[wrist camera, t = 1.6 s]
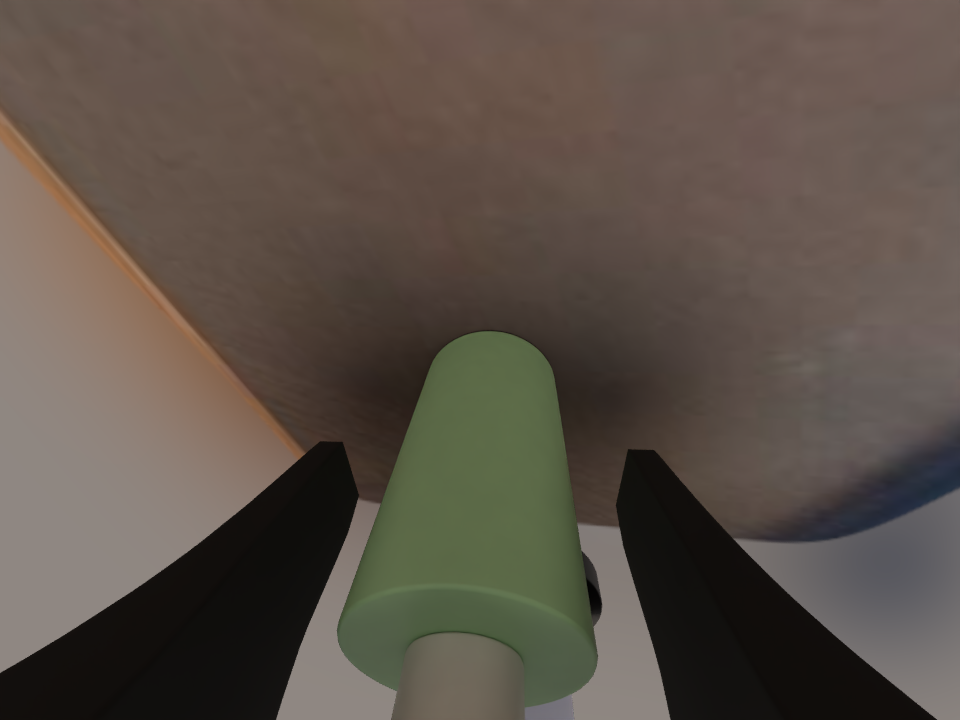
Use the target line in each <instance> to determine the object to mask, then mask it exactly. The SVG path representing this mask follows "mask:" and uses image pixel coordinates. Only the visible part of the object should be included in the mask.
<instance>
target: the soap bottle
mask: <svg viewBox="0 0 960 720" xmlns="http://www.w3.org/2000/svg"><path fill="white" fill-rule="evenodd" d="M337 636H338V642H339V645H340V648H341V650H342V651H343V653H344V655H345V656H346V657H347V658H348V660H349V661H350V662H351V663H352V664H353V665H354V666H355V667H356V668H358V669H359V670H360V671H361V672H363V673H364V674H366V675H367V676H369V677H370V678H372V679H374V680H375V681H377V682H379V683H380V684H382V685H385V686H387V687H389V688H391V689H393V690H395V691H397V695H396V699H395V704H394V709H393V714H392V718H391V720H525V708H526V707H532V706H538V705H542V704H546V703H550V702H553V701H556V700H559V699H562V698H564V697H566V696H569V695H571V694H572V693H574V692H576V691H577V690H579V689H581V688H582V687H583V686H584V685H585V684H586V683H588V682H589V680H590V679H591V678H592V676H593V675H594V672H595V669H596V666H597V659H598V654H597V648H596V641H595V635H594V628H593V622H592V616H591V609H590V603H589V596H588V590H587V584H586V577H585V571H584V564H583V558H582V551H581V545H580V539H579V532H578V526H577V519H576V513H575V507H574V500H573V494H572V487H571V481H570V475H569V468H568V462H567V455H566V449H565V443H564V436H563V430H562V423H561V417H560V410H559V404H558V398H557V391H556V385H555V379H554V374H553V371H552V368H551V366H550V364H549V362H548V361H547V359H546V358H545V357H544V355H543V354H542V353H541V352H540V351H539V350H538V349H537V348H536V347H534V346H533V345H532V344H530V343H529V342H527V341H525V340H524V339H521V338H519V337H517V336H514V335H511V334H508V333H503V332H495V331H483V332H475V333H471V334H467V335H464V336H462V337H459V338H457V339H455V340H453V341H452V342H450V343H449V344H447V345H446V346H445V347H444V348H443V349H442V350H441V351H440V352H439V353H438V354H437V355H436V357H435V359H434V360H433V362H432V364H431V367H430V369H429V372H428V375H427V378H426V380H425V383H424V386H423V389H422V391H421V394H420V397H419V400H418V403H417V405H416V408H415V411H414V414H413V416H412V419H411V422H410V425H409V428H408V430H407V433H406V436H405V439H404V441H403V444H402V447H401V450H400V453H399V455H398V458H397V461H396V464H395V466H394V469H393V472H392V475H391V478H390V480H389V483H388V486H387V489H386V491H385V494H384V497H383V500H382V503H381V505H380V508H379V511H378V514H377V517H376V519H375V522H374V525H373V528H372V530H371V533H370V536H369V539H368V542H367V544H366V547H365V550H364V553H363V555H362V558H361V561H360V564H359V567H358V570H357V572H356V575H355V578H354V580H353V583H352V586H351V589H350V592H349V594H348V597H347V600H346V603H345V606H344V608H343V611H342V614H341V617H340V619H339V624H338V628H337Z"/></svg>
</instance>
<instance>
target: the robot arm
mask: <svg viewBox="0 0 960 720" xmlns="http://www.w3.org/2000/svg"><path fill="white" fill-rule="evenodd" d="M358 497H359V494H358V491H357V487H356V484H355V481H354V478H353V474H352V471H351V468H350V464H349V461H348V458H347V455H346V451H345V448H344V445H343V442H324V441H320V442H319V443H318V444H317V445H315V446H314V447H313V448H312V449H311V450H309V451H308V452H307V453H306V454H305V455H304V456H303V457H301V458H300V459H299V460H298V461H297V462H296V463H295V464H293V465H292V466H291V467H290V468H289V469H288V470H287V471H286V472H284V473H283V474H282V475H281V476H280V477H279V478H278V479H276V480H275V481H274V482H273V483H272V484H271V485H270V486H268V487H267V488H266V489H265V490H264V491H263V492H261V493H260V494H259V495H258V496H257V497H256V498H254V500H252V501H251V502H250V503H249V504H247V505H246V506H245V507H244V508H243V509H241V510H240V511H239V512H238V513H236V514H235V515H234V516H233V517H232V518H230V519H229V520H228V521H226V522H225V523H224V524H223V525H221V526H220V527H219V528H218V529H217V530H215V531H214V532H213V533H212V534H210V535H209V536H208V537H206V538H205V539H204V540H203V541H201V542H200V543H199V544H198V545H196V546H195V547H194V548H192V549H191V550H190V551H188V552H187V553H186V554H184V555H183V556H182V557H180V558H179V559H177V560H176V561H175V562H173V563H172V564H171V565H169V566H168V567H166V568H165V569H164V570H162V571H161V572H159V573H158V574H157V575H155V576H154V577H152V578H151V579H149V580H148V581H147V582H145V583H144V584H142V585H141V586H139V587H138V588H136V589H135V590H134V591H132V592H130V593H129V594H127V595H126V596H125V597H123V598H121V599H120V600H118V601H117V602H115V603H114V604H112V605H110V606H109V607H107V608H106V609H104V610H103V611H101V612H100V613H98V614H97V615H95V616H93V617H92V618H90V619H89V620H87V621H86V622H84V623H82V624H81V625H79V626H78V627H76V628H75V629H73V630H72V631H70V632H68V633H67V634H65V635H64V636H62V637H60V638H59V639H57V640H55V641H54V642H52V643H50V644H49V645H47V646H45V647H44V648H42V649H41V650H39V651H37V652H35V653H34V654H32V655H30V656H29V657H27V658H25V659H24V660H22V661H20V662H19V663H17V664H15V665H13V666H12V667H10V668H8V669H6V670H5V671H3V672H1V673H0V720H276V718H277V715H278V711H279V708H280V705H281V702H282V698H283V696H284V692H285V690H286V687H287V684H288V680H289V678H290V675H291V671H292V669H293V666H294V663H295V660H296V657H297V654H298V651H299V648H300V645H301V643H302V640H303V638H304V635H305V632H306V630H307V627H308V625H309V623H310V620H311V618H312V616H313V613H314V611H315V609H316V606H317V604H318V602H319V599H320V597H321V595H322V592H323V590H324V588H325V586H326V583H327V581H328V579H329V576H330V574H331V572H332V569H333V567H334V565H335V562H336V560H337V558H338V555H339V553H340V550H341V548H342V546H343V543H344V541H345V538H346V536H347V534H348V531H349V528H350V524H351V521H352V518H353V514H354V510H355V507H356V504H357V500H358ZM616 508H617V514H618V520H619V526H620V531H621V536H622V541H623V546H624V550H625V554H626V557H627V561H628V564H629V567H630V571H631V574H632V577H633V580H634V584H635V587H636V591H637V594H638V597H639V601H640V604H641V607H642V611H643V614H644V617H645V620H646V624H647V627H648V630H649V634H650V637H651V640H652V644H653V647H654V650H655V654H656V658H657V662H658V665H659V669H660V673H661V677H662V682H663V686H664V691H665V695H666V700H667V705H668V710H669V714H670V719H671V720H937V719H936V718H934V717H933V716H932V715H930V714H929V713H928V712H927V711H925V710H924V709H923V708H921V706H919V705H918V704H917V703H915V702H914V701H913V700H912V699H911V698H909V697H908V696H907V695H906V694H905V693H903V692H902V691H901V690H899V689H898V688H897V687H896V686H895V685H893V684H892V683H891V682H890V681H888V680H887V679H886V678H885V677H883V676H882V675H881V674H880V673H879V672H877V671H876V670H875V669H874V668H872V667H871V666H870V665H869V664H868V663H866V662H865V661H864V660H863V659H861V658H860V657H859V656H858V655H857V654H856V653H854V652H853V651H852V650H851V649H850V648H848V647H847V646H846V645H845V644H844V643H843V642H841V641H840V640H839V639H838V638H837V637H836V636H834V635H833V634H832V633H831V632H830V631H829V630H828V629H827V628H826V627H824V626H823V625H822V624H821V623H820V622H819V621H818V620H817V619H815V618H814V617H813V616H812V615H811V614H810V613H809V612H808V611H807V610H805V609H804V608H803V607H802V606H801V605H800V604H799V603H797V601H795V600H794V599H793V598H792V597H791V596H790V595H789V594H788V593H787V592H786V591H785V590H784V589H783V588H782V587H781V586H780V585H779V584H778V583H776V582H775V581H774V580H773V579H772V578H771V577H770V576H769V575H768V574H767V573H766V572H765V571H764V570H763V569H762V568H761V567H760V566H759V565H758V564H757V563H756V562H755V561H754V560H753V559H752V558H751V557H750V556H749V555H748V554H747V553H746V552H745V551H744V550H743V549H742V548H741V547H740V546H739V545H738V544H737V542H736V541H735V540H734V539H733V538H732V537H731V536H730V535H729V534H728V533H727V532H726V531H725V530H724V529H723V527H722V526H721V525H720V524H719V523H718V522H717V521H716V520H715V519H714V518H713V517H712V516H711V515H710V513H709V512H708V511H707V510H706V509H705V508H704V507H703V506H702V505H701V503H700V502H699V501H698V500H697V499H696V498H695V497H694V496H693V494H692V493H691V492H690V491H689V490H688V489H687V487H686V486H685V485H684V484H683V483H682V482H681V481H680V479H679V478H678V477H677V476H676V475H675V474H674V472H673V471H672V470H671V469H670V468H669V466H668V465H667V464H666V463H665V462H664V461H663V459H662V458H661V457H660V456H659V455H658V454H657V453H656V452H655V451H654V450H631V449H628V452H627V457H626V461H625V466H624V470H623V475H622V480H621V484H620V489H619V494H618V498H617V503H616ZM525 720H574V712H573V702H572V694H571V695H569V696H566V697H564V698H562V699H559V700H556V701H553V702H550V703H546V704H542V705H538V706H532V707H526V708H525Z"/></svg>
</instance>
